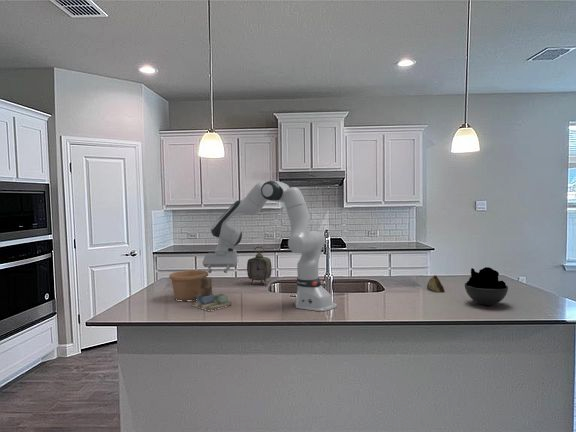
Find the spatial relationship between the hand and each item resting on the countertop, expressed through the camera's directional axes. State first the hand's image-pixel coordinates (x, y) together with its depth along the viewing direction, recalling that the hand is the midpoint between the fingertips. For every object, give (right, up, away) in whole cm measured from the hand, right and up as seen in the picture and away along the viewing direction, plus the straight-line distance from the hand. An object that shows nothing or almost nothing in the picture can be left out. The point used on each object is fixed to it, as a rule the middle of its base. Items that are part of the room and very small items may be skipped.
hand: (217, 272), depth 227 cm
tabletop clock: (+22, -14, +39) cm, 47 cm away
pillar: (-4, -10, -12) cm, 16 cm away
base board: (-1, -16, -12) cm, 20 cm away
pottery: (-17, -16, +6) cm, 24 cm away
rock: (+128, -13, +12) cm, 129 cm away
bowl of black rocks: (+142, -14, -20) cm, 144 cm away
